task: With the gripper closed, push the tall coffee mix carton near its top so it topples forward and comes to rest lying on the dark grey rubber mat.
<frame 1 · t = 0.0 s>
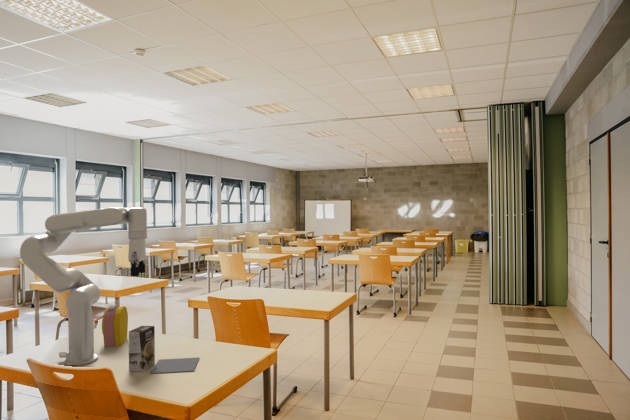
hand: (138, 274, 184), 37 cm above the table, tool pointing down, fingers open, 9 cm apart
coffee box: (142, 367, 173), on the table
mat: (175, 365, 174), on the table
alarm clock: (115, 343, 206), on the table
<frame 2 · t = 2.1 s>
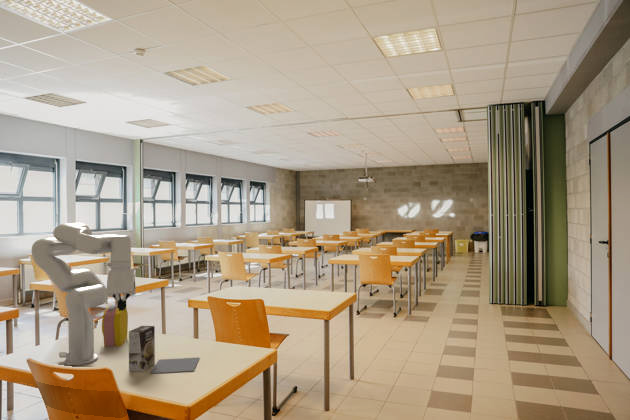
hand: (122, 309, 172), 24 cm above the table, tool pointing down, fingers closed
nothing on the table moved.
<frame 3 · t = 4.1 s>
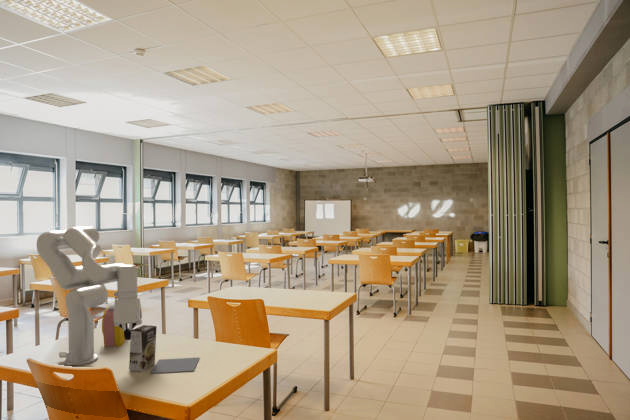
hand: (128, 339, 172), 12 cm above the table, tool pointing down, fingers closed
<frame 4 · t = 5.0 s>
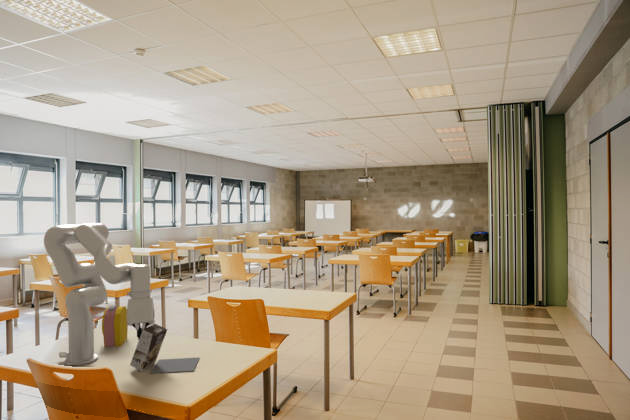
hand: (141, 338, 173), 12 cm above the table, tool pointing down, fingers closed
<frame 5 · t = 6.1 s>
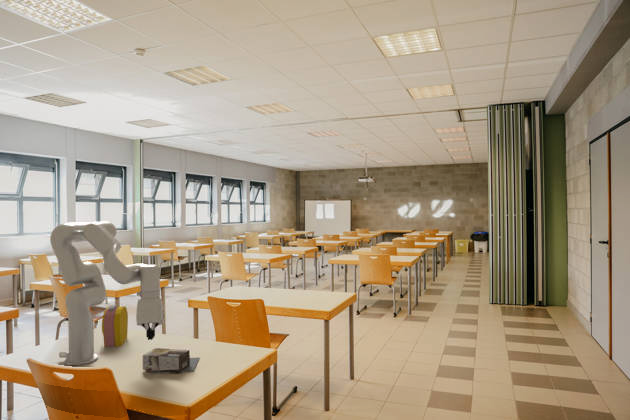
hand: (150, 338, 173), 12 cm above the table, tool pointing down, fingers closed
coffee box: (148, 358, 172), point 4 cm above the table, touching mat
everything else where it was.
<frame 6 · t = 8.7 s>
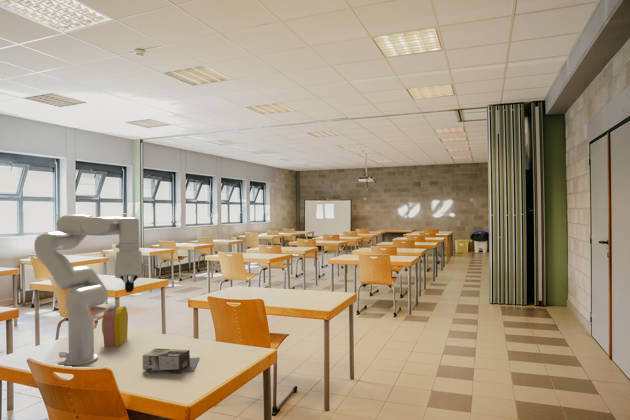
hand: (129, 291, 172), 31 cm above the table, tool pointing down, fingers closed
nothing on the table moved.
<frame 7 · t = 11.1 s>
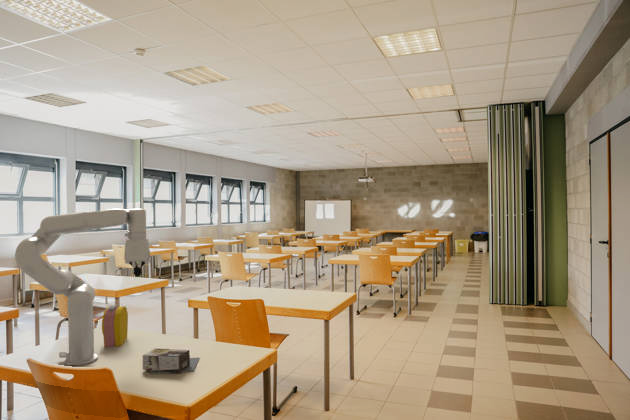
hand: (137, 276, 190), 35 cm above the table, tool pointing down, fingers closed
nothing on the table moved.
at the end: coffee box tilted 90°; coffee box inside the target area (10.3 cm from its centre), point 3.5 cm above the table; the gripper is holding nothing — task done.
